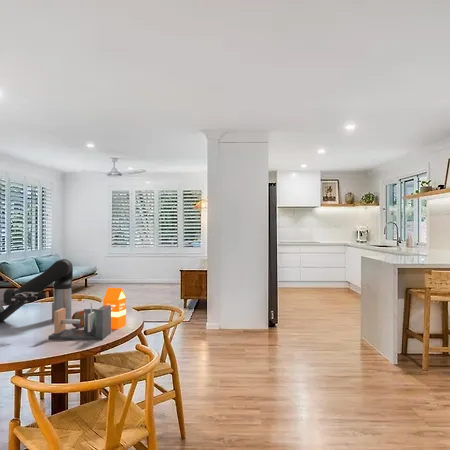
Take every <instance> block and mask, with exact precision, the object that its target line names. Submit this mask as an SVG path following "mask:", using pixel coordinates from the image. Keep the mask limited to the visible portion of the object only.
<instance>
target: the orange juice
mask: <svg viewBox="0 0 450 450" xmlns="http://www.w3.org/2000/svg"><path fill="white" fill-rule="evenodd" d="M102 302H103V303H102V306H104V305H111V330H120V329H122V328H124V327H125V326H127V297H126V295H125V292H124V289H123V288H122V287H121V288H120V287H106V291H105V294H104V296H103V299H102Z"/></svg>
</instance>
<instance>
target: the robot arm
mask: <svg viewBox="0 0 450 450" xmlns="http://www.w3.org/2000/svg"><path fill="white" fill-rule="evenodd" d="M73 270H74V268H73V263H72V262H71V260H69V259H66V258H62V259H59V260H58V259H57V260H56V261H55V262H54V263H53V264H51V266H49V267H48V268H47V269H46V270H44V271H43V272H42V273H40V274H39V275H36V276H34V278H31V279H30V280H28V281H27V282H26V283H24V284H22V285H21V286H20V287H18V288H0V323H2V322H4V321H5V320H7V319H8V318H10V316H12V315H13V314H14V313H15V312H17V311H18V310H19V309H20V308H22V307H23V306H25V305H26V304H27V303H29V302H37V300H38V299H44V298H46V297H47V293H46V292H44V291H45V290H46V289H47V288H48V287H49V286H50V285H51V284H52V283H53V302H51V320H52V321H54V312H55V311H57V310H59V309H61V308H66V319H72V285H73V284H72V283H73V279H74V277H73V272H74V271H73ZM4 306H7V307H6V308H4Z"/></svg>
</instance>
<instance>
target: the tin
mask: <svg viewBox="0 0 450 450" xmlns="http://www.w3.org/2000/svg"><path fill="white" fill-rule="evenodd" d="M71 319H79V320H80V324H71V325H72V326H73V327H74V328H77V329H81V328H84V309H82V310H79V311H76V312H74V313H73V315H71Z"/></svg>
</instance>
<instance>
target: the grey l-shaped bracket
mask: <svg viewBox="0 0 450 450" xmlns="http://www.w3.org/2000/svg"><path fill="white" fill-rule="evenodd" d="M83 310H84V327H83V329H70V328H69V329H67V328H65V330H63V331H61V332H60V333H54V332H52V333H51V334H50V335H48V338H47V339H48V340H51V341H52V340H54V341H56V340H57V341H58V340H59V341H60V340H61V341H62V340H64V341H69V340H71V341H72V340H73V341H74V340H75V341H78V340H79V341H81V340H82V341H85V340H86V341H89V340H90V341H103V340H105V339H106V338H107V337H108V336H110V335H111V334H112V329H111V305H104V306H103V305H102V306H101V307H99V308H92V312H95V329H94V330H92V331H91V332H88V314H90V313H91V308H84V309H83Z"/></svg>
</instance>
